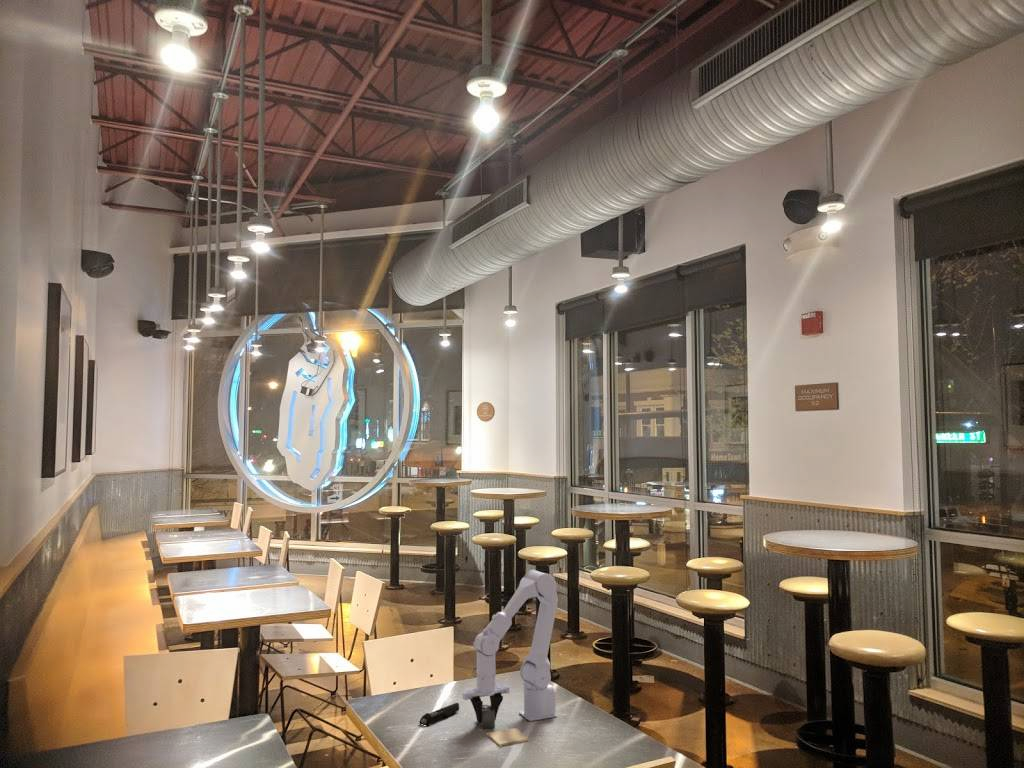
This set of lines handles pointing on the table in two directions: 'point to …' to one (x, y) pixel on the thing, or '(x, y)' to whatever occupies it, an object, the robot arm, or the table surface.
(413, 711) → the table surface
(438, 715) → the electric trimmer
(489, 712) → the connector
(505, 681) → the table surface
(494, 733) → the pad
